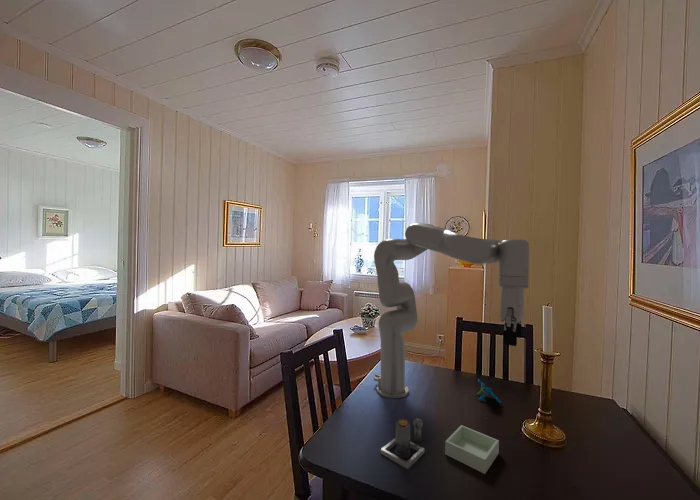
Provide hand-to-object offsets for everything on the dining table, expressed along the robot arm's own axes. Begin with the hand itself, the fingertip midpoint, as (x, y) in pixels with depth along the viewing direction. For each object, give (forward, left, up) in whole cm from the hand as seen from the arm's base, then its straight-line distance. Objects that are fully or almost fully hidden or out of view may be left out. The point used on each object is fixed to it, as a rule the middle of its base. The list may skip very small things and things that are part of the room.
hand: (512, 340), depth 89 cm
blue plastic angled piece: (-14, +21, -30) cm, 39 cm away
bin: (-7, -13, -30) cm, 33 cm away
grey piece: (-21, -23, -30) cm, 43 cm away
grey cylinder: (-21, -26, -30) cm, 45 cm away
